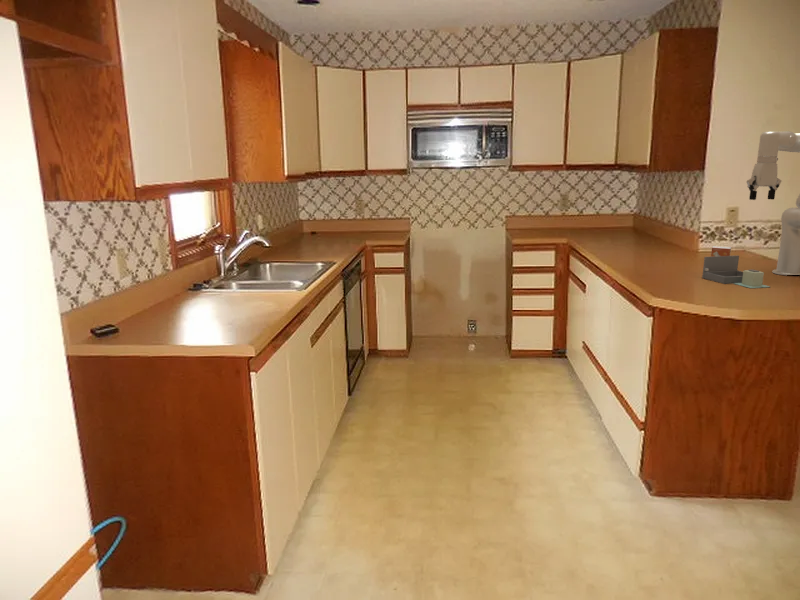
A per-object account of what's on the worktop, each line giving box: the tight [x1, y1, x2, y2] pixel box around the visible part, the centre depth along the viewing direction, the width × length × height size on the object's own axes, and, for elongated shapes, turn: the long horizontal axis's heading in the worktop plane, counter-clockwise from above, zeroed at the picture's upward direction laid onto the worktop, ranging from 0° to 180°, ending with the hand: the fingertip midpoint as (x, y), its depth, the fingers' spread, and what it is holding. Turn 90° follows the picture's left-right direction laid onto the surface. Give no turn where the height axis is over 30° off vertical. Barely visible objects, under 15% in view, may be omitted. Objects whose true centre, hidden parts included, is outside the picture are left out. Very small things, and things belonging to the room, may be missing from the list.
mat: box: [732, 283, 771, 289], centre depth 262 cm, size 10×10×1 cm
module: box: [742, 269, 765, 287], centre depth 261 cm, size 5×6×6 cm
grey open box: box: [701, 254, 743, 285], centre depth 273 cm, size 18×15×10 cm
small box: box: [710, 245, 732, 257], centre depth 288 cm, size 8×6×13 cm
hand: (761, 199), depth 269 cm, fingers open, 9 cm apart
